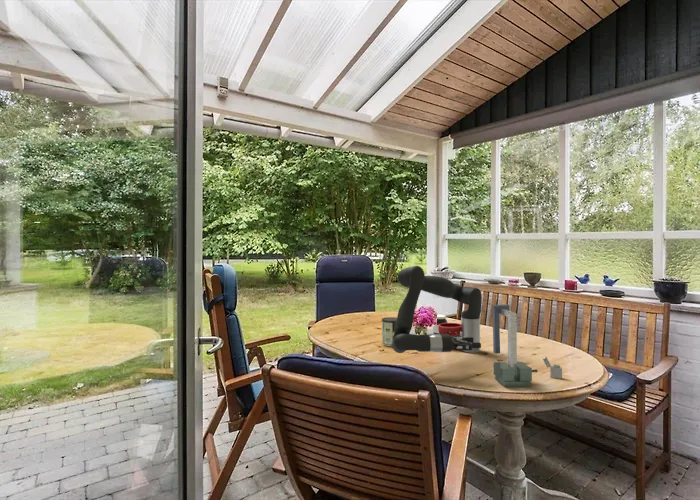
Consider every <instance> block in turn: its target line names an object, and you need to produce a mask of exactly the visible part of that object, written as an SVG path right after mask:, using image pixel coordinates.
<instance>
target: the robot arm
mask: <svg viewBox="0 0 700 500" xmlns="http://www.w3.org/2000/svg"><path fill="white" fill-rule="evenodd" d="M397 280H398V282H399V284H400V285H401V286H403V287H404V288H406V289H408V291H407V294H406V295H405V297H404V299H403V301H402V303H401V304H400V306H399V308H398V312H397V317H396V318H397V321H396V329H395V332H394V336H393V340H392V346H391V347H392V349H393V351H394V352H395V353H398V354H403V353H405V352H406V351H416V352H419V353H420V352H421V353H432V352H433V353H451V352H452V350H453V349H457V351H462V352H466V353H471V354H473V353H475V354H476V353H479V352H480V351H481V348H482V343H481V332H480V331H481V329H480V328H481V322H480V321H481V313H482V301H483V297H482V291H481V290H480V288H478V287H474V286H461V285H457V284H455V283H454V282H452V281H451V280H450V279H448V278H444V277H441V276H438V275H437V276H436V275H425V272H424V269H423V268H422V267H421V266H419V265H413V266H408V267H405V268H402V270H400V271H399V272H398V274H397ZM421 292H425V293H428V294H432V295H435V296H438V297H441V298H446V299H451V300H455V301H457V302H459V303H461V304H464V305H468V308H467V310H463V311H462V312H461V315H460V317H461V321H460V322H461V323H460V324H461V332H460V336H451V335H450V334H434V333H432V334H413V333H411V330H412V328H413V322H414V317H415V312H416V308H417V304H418V301H419V297H420V294H421ZM453 347H454V348H453Z"/></svg>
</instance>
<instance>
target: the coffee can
mask: <svg viewBox="0 0 700 500" xmlns="http://www.w3.org/2000/svg"><path fill="white" fill-rule="evenodd" d="M396 321H397V317H389V316H387V317H382V318H381V343H382V344H381V345H382V346H386V347H392V340H393V336H394V332H395V329H396Z"/></svg>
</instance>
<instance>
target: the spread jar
mask: <svg viewBox="0 0 700 500" xmlns="http://www.w3.org/2000/svg"><path fill="white" fill-rule="evenodd" d="M436 315H437V325H434V326H433V325H432V334H439V330H438V325H439V324H442V323H449V322H448V320H447V315H443V314H436ZM449 333H450V332H449Z"/></svg>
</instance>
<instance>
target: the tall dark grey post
mask: <svg viewBox="0 0 700 500" xmlns="http://www.w3.org/2000/svg"><path fill="white" fill-rule="evenodd" d="M499 309H506V310H509V311H510V305H509V304H492V309H491V310H492V343H493V347H492V348H493V353H494V354H495V355H496V354H501V337H500V335H501V333H500V332H501V329H500V327H501V326H500V314H499Z"/></svg>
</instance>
